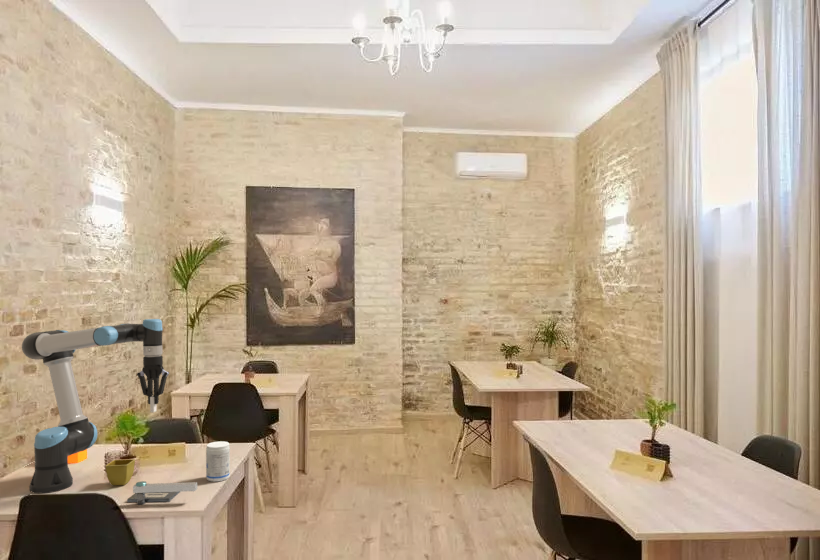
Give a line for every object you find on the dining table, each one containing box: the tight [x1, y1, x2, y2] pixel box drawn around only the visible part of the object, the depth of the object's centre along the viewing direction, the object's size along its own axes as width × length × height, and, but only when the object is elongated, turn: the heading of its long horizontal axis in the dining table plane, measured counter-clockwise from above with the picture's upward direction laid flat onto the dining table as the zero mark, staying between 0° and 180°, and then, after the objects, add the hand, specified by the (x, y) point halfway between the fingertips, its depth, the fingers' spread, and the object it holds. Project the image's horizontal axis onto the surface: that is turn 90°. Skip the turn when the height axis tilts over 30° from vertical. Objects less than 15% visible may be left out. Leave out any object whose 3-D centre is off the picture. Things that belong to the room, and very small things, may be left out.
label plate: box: [126, 492, 181, 503], centre depth 230 cm, size 16×13×2 cm
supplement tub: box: [205, 440, 231, 483], centre depth 251 cm, size 10×10×15 cm
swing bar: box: [132, 480, 198, 494], centre depth 223 cm, size 23×4×3 cm, turn 93°
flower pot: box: [105, 458, 136, 487], centre depth 245 cm, size 9×9×9 cm
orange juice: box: [68, 449, 88, 464], centre depth 279 cm, size 8×9×20 cm
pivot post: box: [136, 493, 146, 506], centre depth 222 cm, size 3×3×4 cm
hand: (153, 411), depth 248 cm, fingers closed
